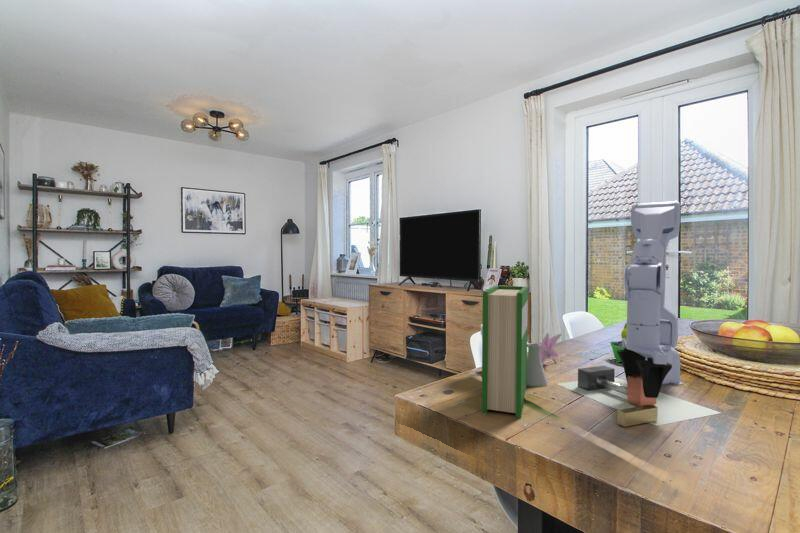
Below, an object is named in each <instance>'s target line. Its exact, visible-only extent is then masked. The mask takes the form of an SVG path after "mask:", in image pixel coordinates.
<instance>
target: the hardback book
mask: <svg viewBox="0 0 800 533" xmlns="http://www.w3.org/2000/svg"><path fill="white" fill-rule="evenodd" d="M528 299H529V286H519V285H517V286H516V285H515V286H513V285H493V286H492V287H489V288H488V289H486V290H483V291H482V335H481V343H482V344H481V346H482V349H481V350H482V351H481V356H482V357H481V414H488V412H489V410H492V411H498V412H505V413H513V414H515V419H522V414H523V410H524V405H525V400H526V390H527V386H528V385H527V357H528V347H527V344H528V318H529V317H528V313H529V311H528V310H529V309H528V308H529V307H528V304H529V302H528V301H529V300H528Z"/></svg>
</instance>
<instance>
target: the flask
mask: <svg viewBox="0 0 800 533" xmlns="http://www.w3.org/2000/svg"><path fill="white" fill-rule="evenodd" d="M535 343H536V342H533V343H531V342H530V343H529V342H527V386H531V387H547V386H548V384H549V381H548V377H547V375H546V372H545V369H544V364H543V365H542V362H541V357H540V348H541V345H540V344H535Z"/></svg>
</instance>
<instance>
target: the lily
mask: <svg viewBox="0 0 800 533" xmlns="http://www.w3.org/2000/svg"><path fill="white" fill-rule="evenodd" d="M561 336H562V333H558V334H556V335H554V336H552V337H550V334H549V333H548V332H547V333H546V334H545V336H544V337H543V339H542V341H541V342H539V341H537V342H534V343H535V344H540V345H541V348H540V357H541V362H542V365H543V366H544V364H545V362H546V361H547V360H548V359H552V361H553V362H554V364H557V361H556V360H555V359H556V358H559V353H557V351H556V349H554V347H555V345H556V344H557V342H559V339H560V338H561Z"/></svg>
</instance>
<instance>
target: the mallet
mask: <svg viewBox="0 0 800 533" xmlns="http://www.w3.org/2000/svg"><path fill="white" fill-rule="evenodd" d="M626 381H627V387H625V386H622V385H619V384H616V383H614V382H611V381H608V380H605V379H602V378H599V377H597V384H598V385H601V386H603V387H606V388H609V389H611V390H614V391H617V392H619V393H622V394H625V395H627V402H629V403H632V404H634V405H637V406H644V405H654V404H656V398H647V397H645V395H644V391H643V382H642V376H641V374H638V375H631V376H628V378H627V380H626Z"/></svg>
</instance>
